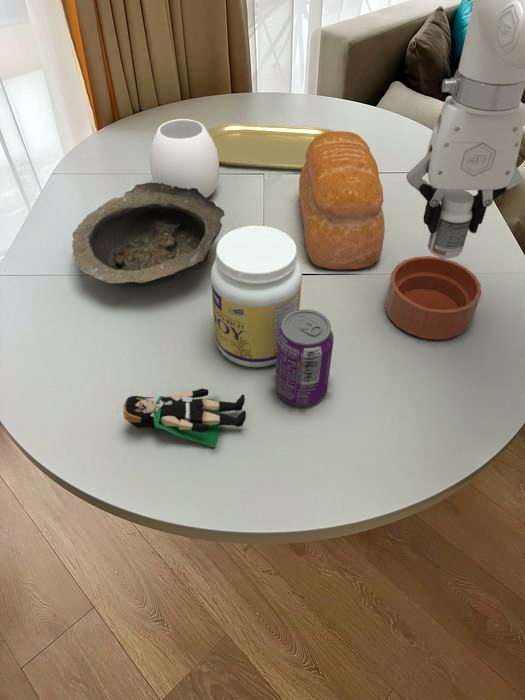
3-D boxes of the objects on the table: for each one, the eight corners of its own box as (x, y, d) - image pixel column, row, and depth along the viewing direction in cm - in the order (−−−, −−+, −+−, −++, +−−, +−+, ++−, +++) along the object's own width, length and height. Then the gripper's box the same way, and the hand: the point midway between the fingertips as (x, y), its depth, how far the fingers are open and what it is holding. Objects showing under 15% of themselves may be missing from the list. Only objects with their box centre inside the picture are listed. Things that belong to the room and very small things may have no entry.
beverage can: (335, 383, 78) (345, 319, 70) (311, 417, 74) (318, 354, 65) (291, 362, 81) (295, 299, 72) (265, 395, 77) (266, 332, 68)
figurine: (247, 430, 68) (120, 424, 65) (239, 456, 72) (119, 452, 69) (243, 382, 74) (126, 374, 71) (236, 409, 78) (125, 402, 75)
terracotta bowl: (480, 302, 90) (491, 272, 86) (456, 353, 82) (467, 324, 78) (401, 276, 95) (408, 247, 90) (372, 322, 87) (377, 293, 83)
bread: (306, 273, 95) (312, 192, 84) (295, 192, 114) (299, 117, 103) (385, 271, 96) (401, 191, 85) (362, 191, 114) (372, 117, 103)
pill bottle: (468, 255, 79) (485, 201, 73) (439, 262, 77) (454, 208, 72) (448, 237, 82) (463, 184, 76) (420, 244, 81) (433, 191, 75)
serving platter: (205, 128, 134) (204, 121, 133) (353, 136, 131) (353, 129, 130) (189, 166, 121) (188, 159, 120) (353, 176, 118) (353, 169, 117)
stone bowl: (242, 232, 103) (240, 189, 96) (195, 330, 88) (189, 288, 81) (118, 210, 107) (107, 167, 100) (53, 300, 92) (35, 257, 85)
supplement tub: (198, 341, 84) (188, 248, 72) (256, 302, 90) (255, 210, 78) (257, 385, 78) (257, 291, 66) (314, 340, 84) (323, 247, 72)
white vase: (144, 207, 109) (133, 140, 100) (168, 174, 118) (160, 110, 109) (209, 216, 107) (204, 149, 98) (228, 182, 116) (225, 117, 107)
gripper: (420, 103, 61) (393, 243, 74) (575, 102, 61) (521, 243, 74) (407, 78, 67) (384, 213, 80) (550, 78, 67) (503, 213, 80)
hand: (450, 226), depth 77 cm, fingers closed on pill bottle, 4 cm apart
